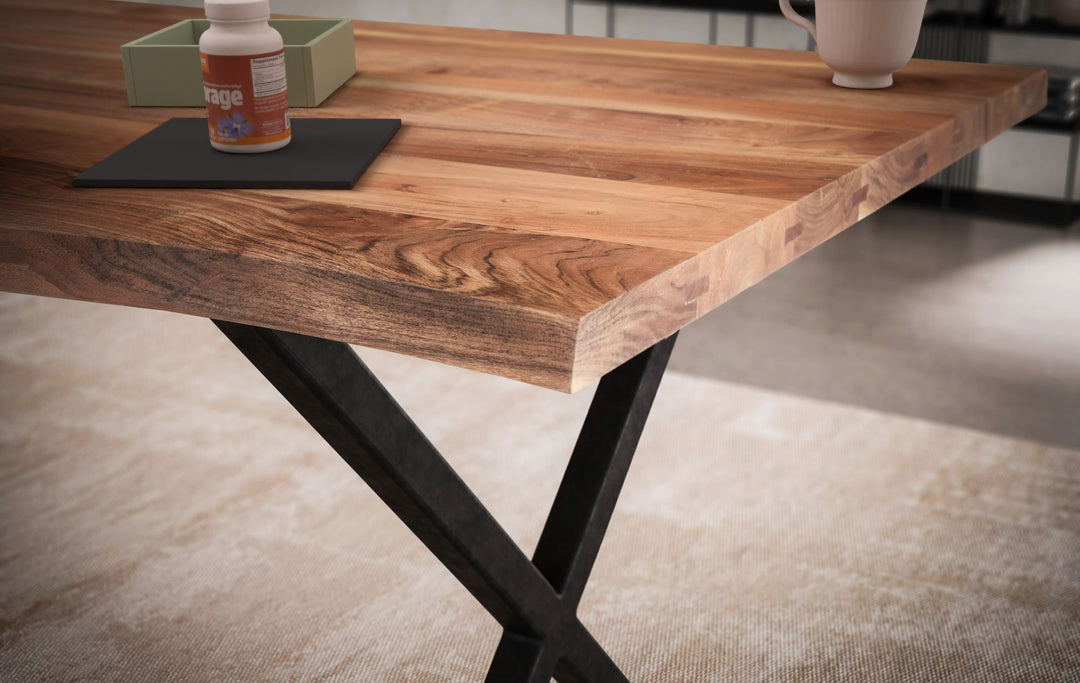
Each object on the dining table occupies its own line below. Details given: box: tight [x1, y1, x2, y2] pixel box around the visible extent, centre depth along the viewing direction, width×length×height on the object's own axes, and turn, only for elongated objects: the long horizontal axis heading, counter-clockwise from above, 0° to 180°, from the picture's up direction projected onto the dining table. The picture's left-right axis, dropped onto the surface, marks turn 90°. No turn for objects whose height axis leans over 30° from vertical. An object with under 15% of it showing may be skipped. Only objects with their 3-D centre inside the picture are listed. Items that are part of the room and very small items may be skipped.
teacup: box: [778, 0, 928, 90], centre depth 113 cm, size 12×15×10 cm
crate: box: [120, 18, 357, 108], centre depth 114 cm, size 18×18×6 cm
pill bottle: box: [199, 0, 291, 153], centre depth 89 cm, size 6×6×11 cm
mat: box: [71, 117, 403, 190], centre depth 91 cm, size 20×20×1 cm
